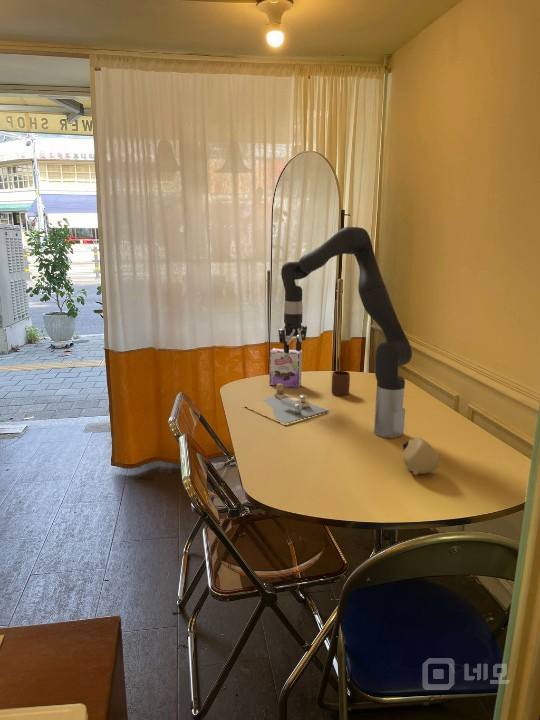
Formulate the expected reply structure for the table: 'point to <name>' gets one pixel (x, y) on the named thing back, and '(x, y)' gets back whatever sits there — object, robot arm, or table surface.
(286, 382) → the candy box
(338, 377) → the mug
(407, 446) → the cream rounded piece
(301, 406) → the keeper
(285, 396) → the link
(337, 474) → the table surface
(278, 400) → the base plate
